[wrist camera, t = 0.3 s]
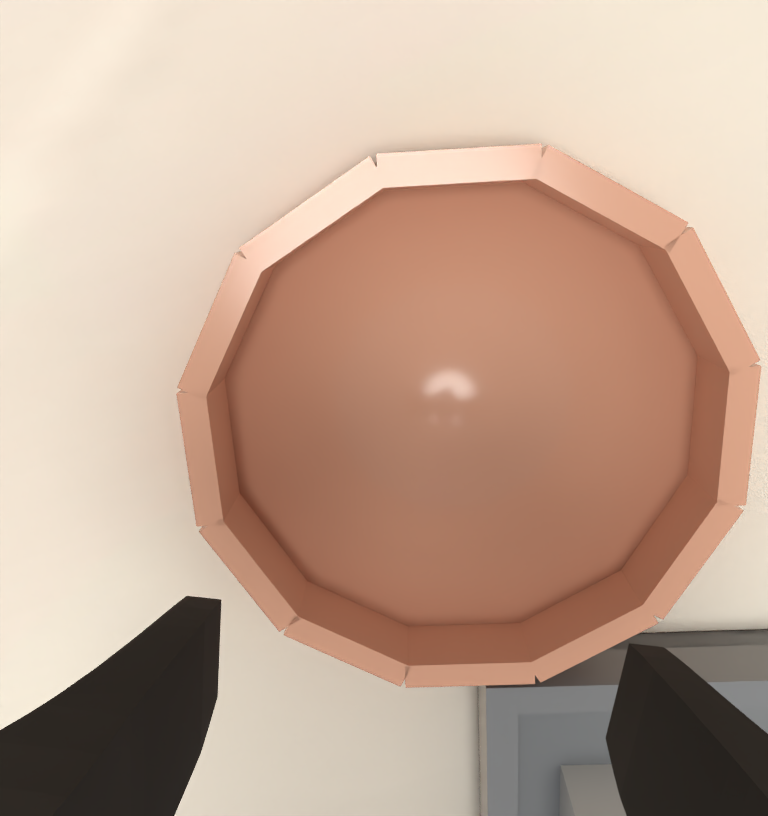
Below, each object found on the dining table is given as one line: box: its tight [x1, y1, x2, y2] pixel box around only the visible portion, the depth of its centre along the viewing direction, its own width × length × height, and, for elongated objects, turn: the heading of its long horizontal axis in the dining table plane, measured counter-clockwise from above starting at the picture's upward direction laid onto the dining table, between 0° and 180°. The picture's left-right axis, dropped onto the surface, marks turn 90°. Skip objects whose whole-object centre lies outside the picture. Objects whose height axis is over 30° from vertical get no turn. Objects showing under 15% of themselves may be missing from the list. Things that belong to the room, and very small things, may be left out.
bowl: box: [177, 143, 761, 688], centre depth 20 cm, size 16×16×3 cm
